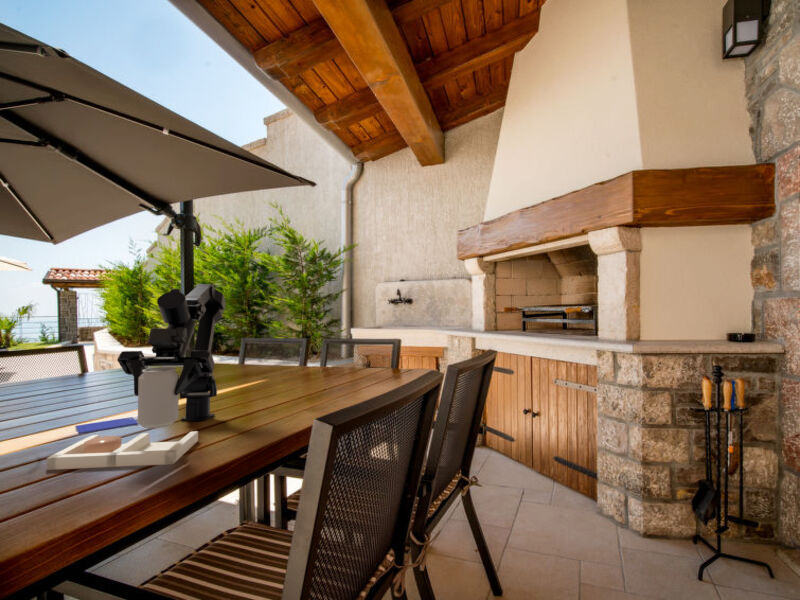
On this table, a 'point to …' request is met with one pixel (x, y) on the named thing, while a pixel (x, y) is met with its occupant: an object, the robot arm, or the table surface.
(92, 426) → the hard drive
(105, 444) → the terracotta dish
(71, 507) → the table surface
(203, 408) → the robot arm
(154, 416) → the can
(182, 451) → the divider tray
